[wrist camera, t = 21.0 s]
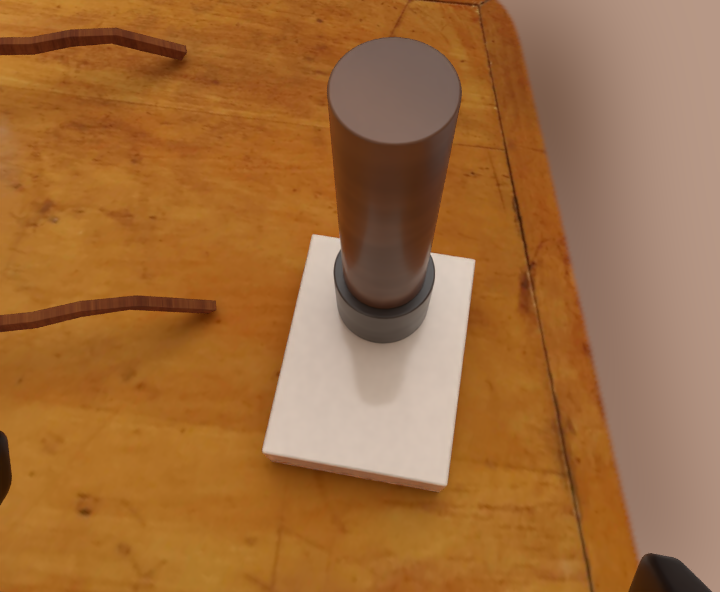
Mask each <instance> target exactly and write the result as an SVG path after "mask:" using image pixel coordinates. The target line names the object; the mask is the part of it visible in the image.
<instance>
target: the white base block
mask: <svg viewBox="0 0 720 592" xmlns="http://www.w3.org/2000/svg"><path fill="white" fill-rule="evenodd" d="M340 249H341V245H340V238H334V237H328V236H321V235H315V234H314V235H312V237H311V242H310V246H309V250H308V255H307V259H306V263H305V267H304V272H303V276H302V280H301V285H300V289H299V293H298V297H297V302H296V306H295V310H294V315H293V319H292V323H291V327H290V332H289V336H288V340H287V345H286V349H285V353H284V357H283V362H282V366H281V370H280V375H279V379H278V383H277V387H276V392H275V396H274V400H273V405H272V409H271V413H270V417H269V422H268V426H267V430H266V435H265V439H264V443H263V447H262V453H263V454H264V455H265V456H266V457H267V458H268V459H269V460H270V461H272V462H277V463H283V464H288V465H294V466H299V467H304V468H310V469H315V470H321V471H326V472H331V473H337V474H342V475H348V476H353V477H358V478H364V479H369V480H375V481H380V482H386V483H391V484H396V485H402V486H407V487H413V488H418V489H423V490H429V491H434V492H441V491H442V490H443V489H444V488H445V487H446V486H447V484H448V477H449V469H450V461H451V453H452V445H453V437H454V429H455V421H456V413H457V405H458V397H459V389H460V381H461V373H462V365H463V357H464V349H465V341H466V333H467V325H468V317H469V309H470V301H471V293H472V285H473V277H474V269H475V260H474V259H469V258H462V257H456V256H449V255H443V254H437V253H430V254H431V256H432V258H433V262H434V266H435V281H434V286H433V290H432V294H431V298H430V303H429V307H428V311H427V314H426V317H425V319H424V321H423V322H422V324H421V325H420V327H419V328H418V329H417V330H416V331H415V332H414V333H413V334H411V335H410V336H408V337H406V338H404V339H402V340H400V341H397V342H392V343H374V342H370V341H367V340H364V339H362V338H360V337H358V336H357V335H355V334H354V333H353V332H351V331H350V330H349V329H348V328H347V327H346V325H345V324H344V323H343V321H342V319H341V317H340V315H339V312H338V307H337V300H336V292H335V284H334V274H333V271H334V264H335V260H336V257H337V254H338V253H339V251H340Z"/></svg>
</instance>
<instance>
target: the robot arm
mask: <svg viewBox="0 0 720 592" xmlns="http://www.w3.org/2000/svg"><path fill="white" fill-rule="evenodd" d="M11 480H12V473H11V465H10V456H9V448H8V440H7V437H6V435H5V434H4V433H3V432H2V431H0V505H1V503H2V502H3V500H4V498H5V497H6V495H7V493H8V491H9V489H10V485H11ZM629 592H712V591H711V590H710V589H708V588H707V586H706V585H705V584H704V583H703V582H702V581H701V580H700V579H698V578H697V577H696V576H695V575H694V574H693V573H692V572H691V571H690V570H689V569H688V568H687V567H686V566H685V565H684V564H683V563H682V562H681V561H680V560H678V559H676V558H673V557H668V556H663V555H657V554H652V553H650V554H646V555H644V556H643V557H642V559H641V561H640V563H639V566H638V568H637V571H636V573H635V576H634V579H633V581H632V584H631V586H630V589H629Z"/></svg>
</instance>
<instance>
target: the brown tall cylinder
mask: <svg viewBox="0 0 720 592" xmlns="http://www.w3.org/2000/svg"><path fill="white" fill-rule="evenodd" d="M461 96H462V90H461V83H460V80H459V77H458V74H457V72H456V70H455V68H454V67H453V65H452V64H451V62H450V61H449V60H448V59H447V58H446V57H445V56H444V55H443V54H442V53H440V52H439V51H438V50H436V49H435V48H433V47H431V46H429V45H427V44H425V43H423V42H420V41H417V40H413V39H408V38H401V37H388V38H380V39H374V40H371V41H368V42H365V43H363V44H360V45H358V46H357V47H355V48H353V49H351V50H350V51H349V52H347V53H346V54H345V55H344V56H343V57H342V58H341V59H340V60H339V61H338V63H337V64H336V65H335V67H334V69H333V70H332V72H331V75H330V77H329V81H328V85H327V99H328V110H329V121H330V133H331V144H332V155H333V166H334V178H335V189H336V200H337V211H338V223H339V234H340V245H341V249H340V251H339V253H338V254H337V257H336V260H335V264H334V271H333V274H334V284H335V292H336V300H337V307H338V312H339V315H340V317H341V319H342V321H343V323H344V324H345V325H346V327H347V328H348V329H349V330H350V331H351V332H353V333H354V334H355V335H357V336H358V337H360V338H362V339H364V340H367V341H370V342H374V343H392V342H397V341H400V340H402V339H404V338H406V337H408V336H410V335H411V334H413V333H414V332H415V331H416V330H417V329H418V328H419V327H420V325H421V324H422V322H423V321H424V319H425V317H426V314H427V311H428V307H429V303H430V298H431V294H432V290H433V286H434V281H435V266H434V262H433V258H432V256H431V254H430V252H431V247H432V242H433V237H434V232H435V227H436V222H437V217H438V212H439V207H440V203H441V198H442V193H443V188H444V183H445V178H446V173H447V168H448V163H449V158H450V153H451V148H452V143H453V138H454V133H455V128H456V123H457V118H458V113H459V108H460V103H461Z"/></svg>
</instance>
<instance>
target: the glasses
mask: <svg viewBox="0 0 720 592" xmlns="http://www.w3.org/2000/svg"><path fill="white" fill-rule="evenodd" d="M111 43H112V44H116V45H120V46H124V47H128V48H132V49H136V50H140V51H145V52H149V53H153V54H157V55H161V56H165V57H170V58H174V59H178V60H182V59H183V57H184V56H185V55H186V53H187V50H186V46H185V45H181V44H177V43H173V42H169V41H165V40H161V39H157V38H154V37H150V36H146V35H142V34H138V33H134V32H130V31H126V30H122V29H118V28H98V29H75V30H66V31H61V32H56V33H50V34H45V35H40V36H34V37H7V38H0V55H34V54H39V53H44V52H48V51H53V50H58V49H63V48H67V47H74V46H86V45H98V44H111ZM124 310H146V311H167V312H187V313H207V314H208V313H210V312H213V311H215V310H216V301H213V300H198V299H182V298H167V297H151V296H127V297H117V298H107V299H97V300H87V301H79V302H74V303H70V304H65V305H61V306H57V307H52V308H48V309H43V310H39V311H34V312H28V313H18V314H8V315H0V332H5V331H14V330H23V329H33V328H39V327H43V326H47V325H51V324H55V323H59V322H63V321H67V320H71V319H75V318H79V317H84V316H91V315H97V314H104V313H111V312H117V311H124Z"/></svg>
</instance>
